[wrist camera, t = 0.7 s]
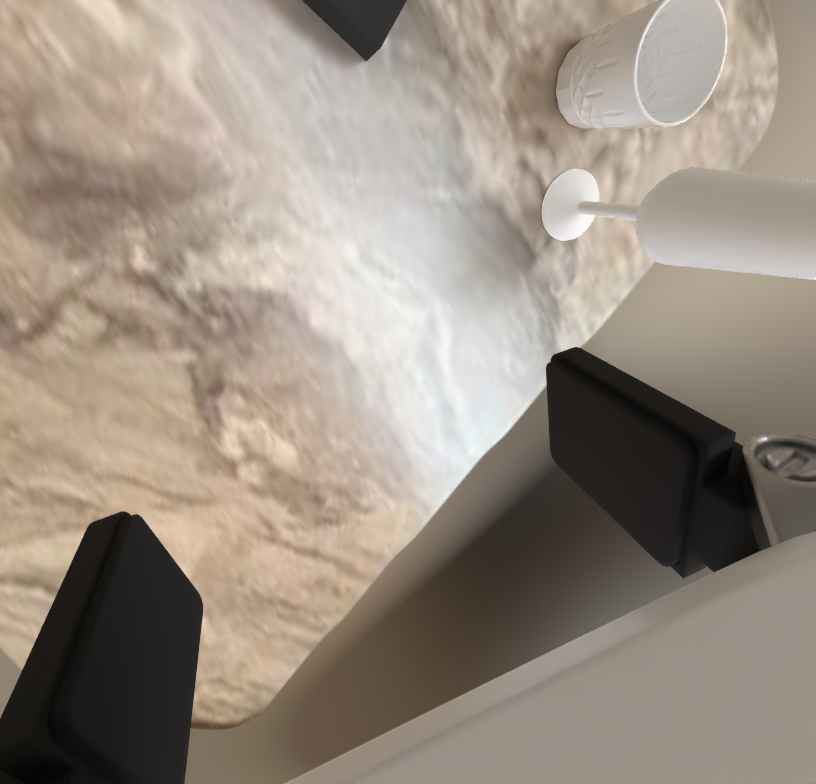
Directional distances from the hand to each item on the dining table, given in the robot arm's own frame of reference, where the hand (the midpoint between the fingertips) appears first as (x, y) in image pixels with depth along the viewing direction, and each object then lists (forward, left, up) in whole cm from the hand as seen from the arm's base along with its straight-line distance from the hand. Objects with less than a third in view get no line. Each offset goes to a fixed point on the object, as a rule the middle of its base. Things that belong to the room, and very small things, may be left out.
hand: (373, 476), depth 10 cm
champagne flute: (+21, +19, -32) cm, 43 cm away
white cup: (+15, +27, -32) cm, 45 cm away
